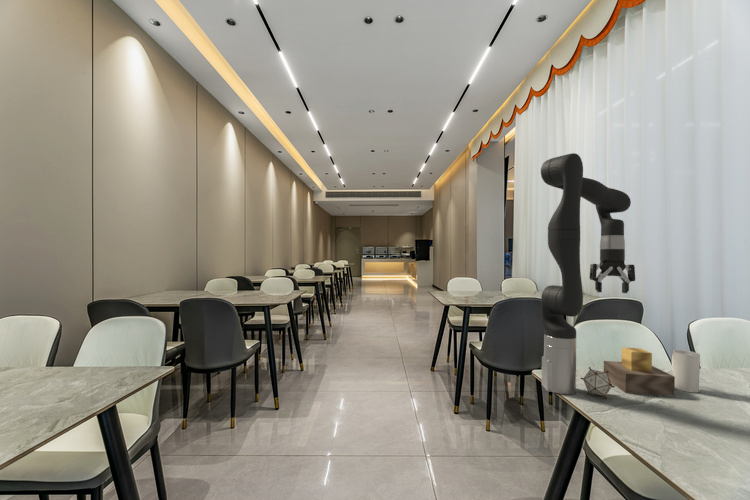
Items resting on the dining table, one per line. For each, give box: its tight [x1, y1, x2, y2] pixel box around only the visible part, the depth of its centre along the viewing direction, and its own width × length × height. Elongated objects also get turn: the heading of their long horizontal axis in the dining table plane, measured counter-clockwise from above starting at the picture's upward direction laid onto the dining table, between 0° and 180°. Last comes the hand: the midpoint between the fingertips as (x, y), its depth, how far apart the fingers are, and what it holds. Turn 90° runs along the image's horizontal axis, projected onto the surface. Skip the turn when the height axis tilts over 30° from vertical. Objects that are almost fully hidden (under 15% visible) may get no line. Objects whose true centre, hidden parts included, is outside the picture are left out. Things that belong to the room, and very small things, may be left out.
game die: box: [580, 366, 616, 400], centre depth 109 cm, size 9×8×10 cm
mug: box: [671, 349, 701, 394], centre depth 117 cm, size 10×7×12 cm, turn 171°
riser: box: [603, 360, 676, 397], centre depth 118 cm, size 14×14×6 cm
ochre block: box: [621, 346, 653, 372], centre depth 118 cm, size 6×6×6 cm
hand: (611, 292), depth 128 cm, fingers open, 8 cm apart
